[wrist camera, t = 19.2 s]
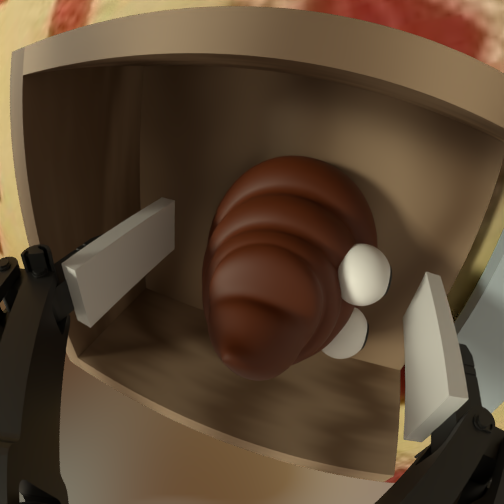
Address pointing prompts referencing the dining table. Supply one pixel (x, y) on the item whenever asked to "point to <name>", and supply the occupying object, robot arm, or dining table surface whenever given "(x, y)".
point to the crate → (228, 171)
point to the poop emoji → (290, 267)
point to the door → (486, 329)
